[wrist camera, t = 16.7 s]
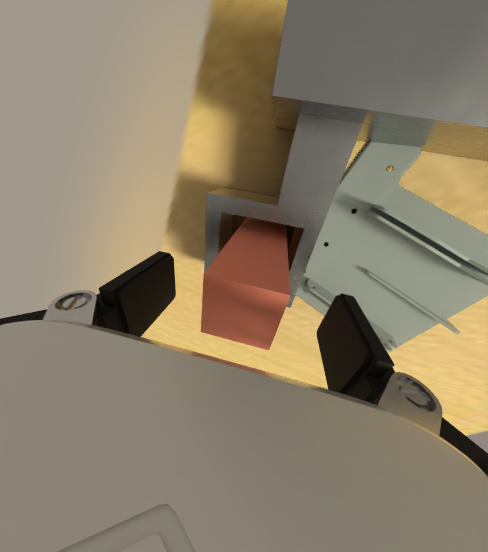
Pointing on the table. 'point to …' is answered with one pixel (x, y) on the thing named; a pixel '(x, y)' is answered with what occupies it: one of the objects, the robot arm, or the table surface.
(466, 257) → the metal bracket
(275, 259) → the red rectangular block
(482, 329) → the table surface
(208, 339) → the table surface
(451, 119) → the grey socket fixture
